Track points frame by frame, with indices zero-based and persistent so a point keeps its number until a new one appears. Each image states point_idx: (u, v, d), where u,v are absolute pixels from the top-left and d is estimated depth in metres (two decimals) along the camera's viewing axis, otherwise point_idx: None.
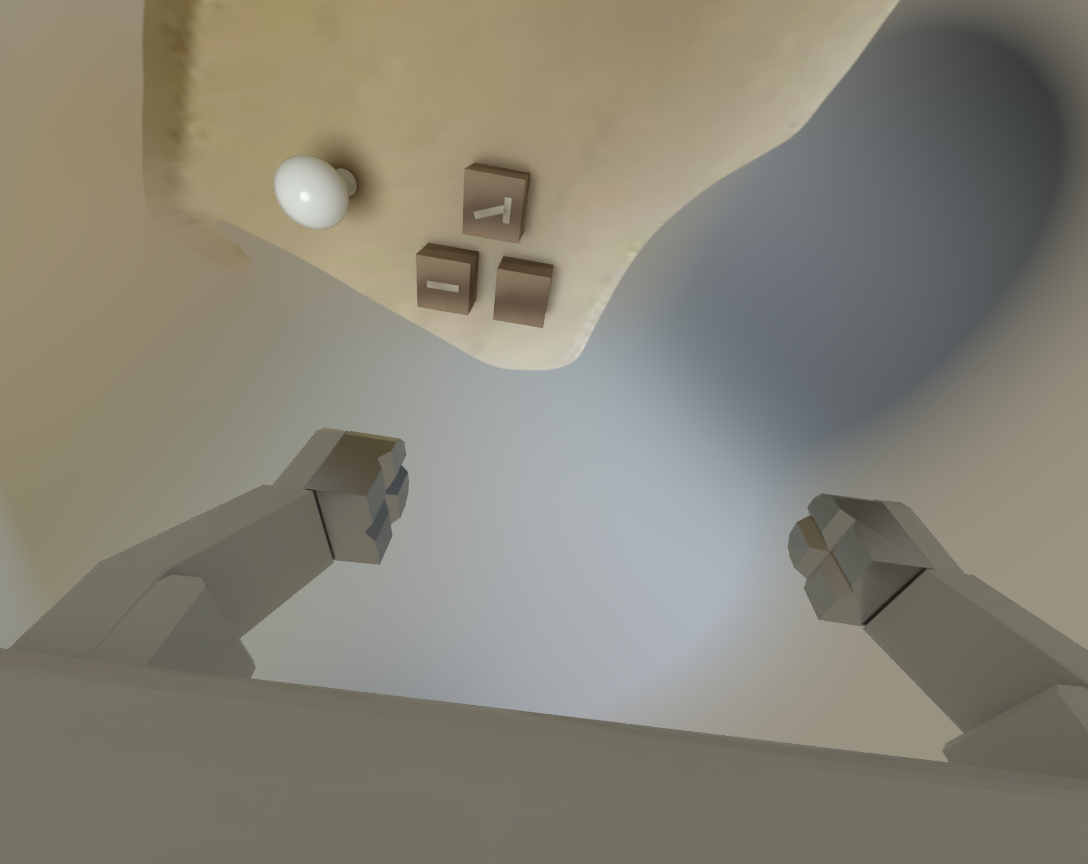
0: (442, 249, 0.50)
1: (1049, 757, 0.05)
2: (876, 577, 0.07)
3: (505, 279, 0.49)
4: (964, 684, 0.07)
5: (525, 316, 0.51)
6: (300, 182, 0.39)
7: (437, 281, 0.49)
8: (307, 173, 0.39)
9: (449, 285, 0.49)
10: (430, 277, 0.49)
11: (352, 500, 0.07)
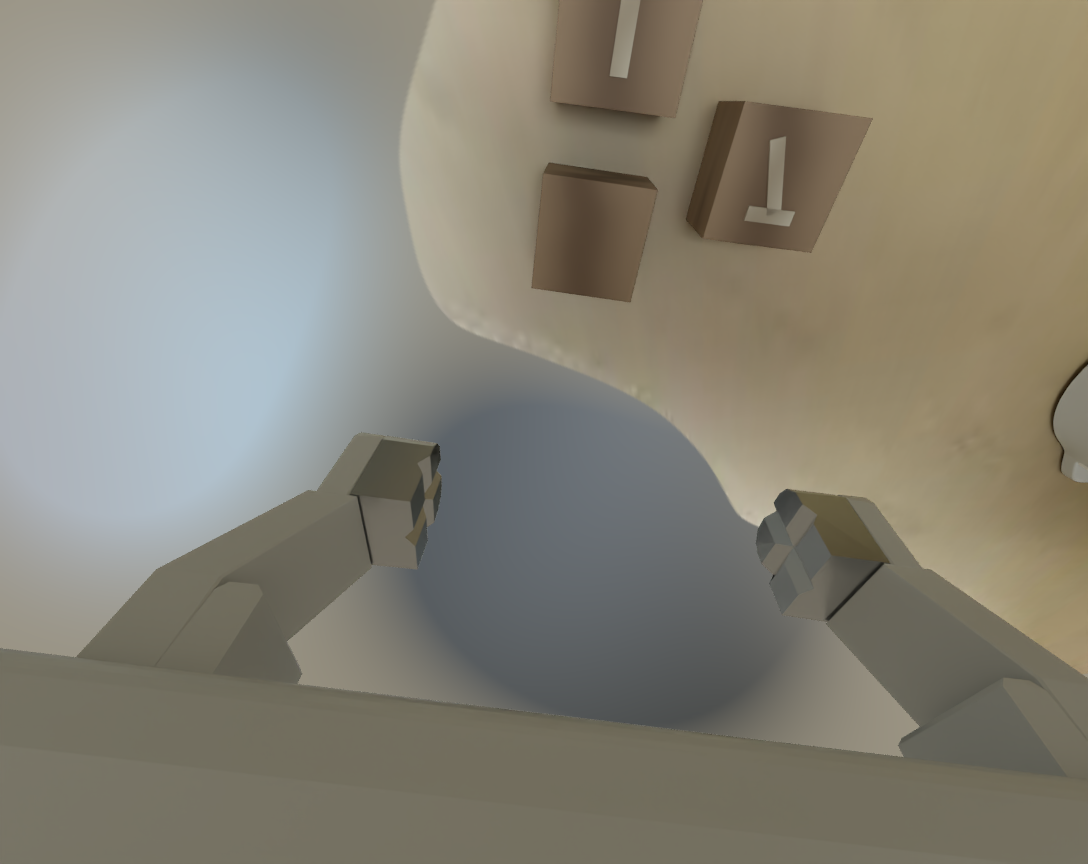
0: None
1: (994, 751, 0.05)
2: (835, 572, 0.07)
3: (633, 208, 0.23)
4: (920, 679, 0.07)
5: (554, 252, 0.25)
6: None
7: (637, 4, 0.18)
8: None
9: (628, 47, 0.19)
10: None
11: (396, 505, 0.07)
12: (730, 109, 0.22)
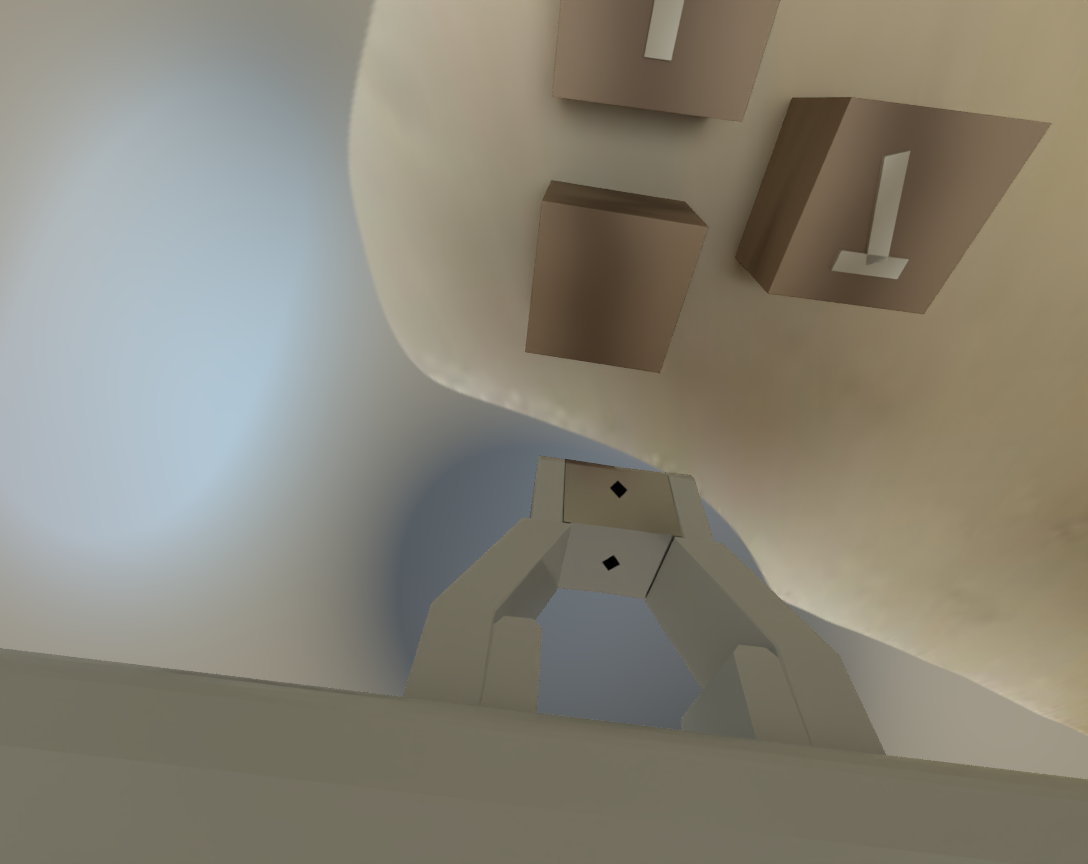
0: None
1: (725, 718, 0.05)
2: (634, 546, 0.07)
3: (671, 251, 0.16)
4: (705, 652, 0.07)
5: (556, 307, 0.18)
6: None
7: None
8: None
9: (675, 10, 0.12)
10: None
11: (606, 533, 0.07)
12: (818, 109, 0.15)
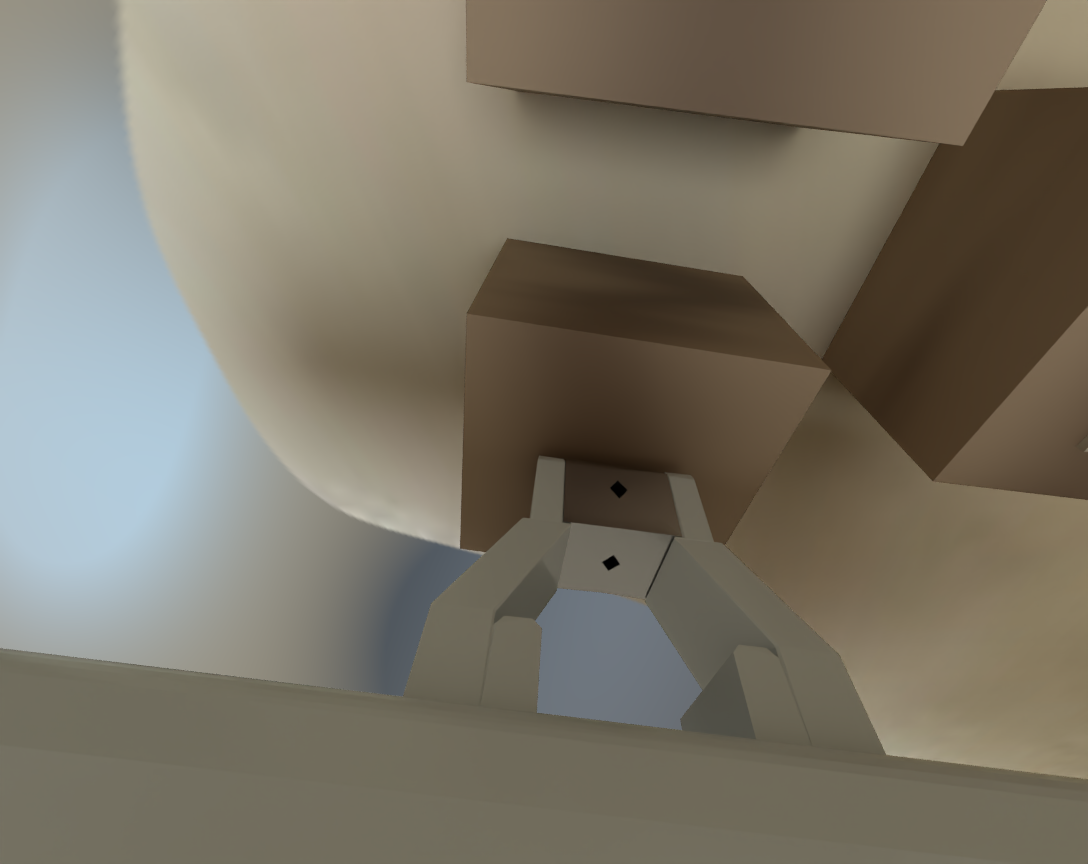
0: None
1: (724, 718, 0.05)
2: (634, 546, 0.07)
3: (744, 410, 0.08)
4: (705, 652, 0.07)
5: (511, 490, 0.09)
6: None
7: None
8: None
9: None
10: None
11: (606, 532, 0.07)
12: (1085, 114, 0.07)
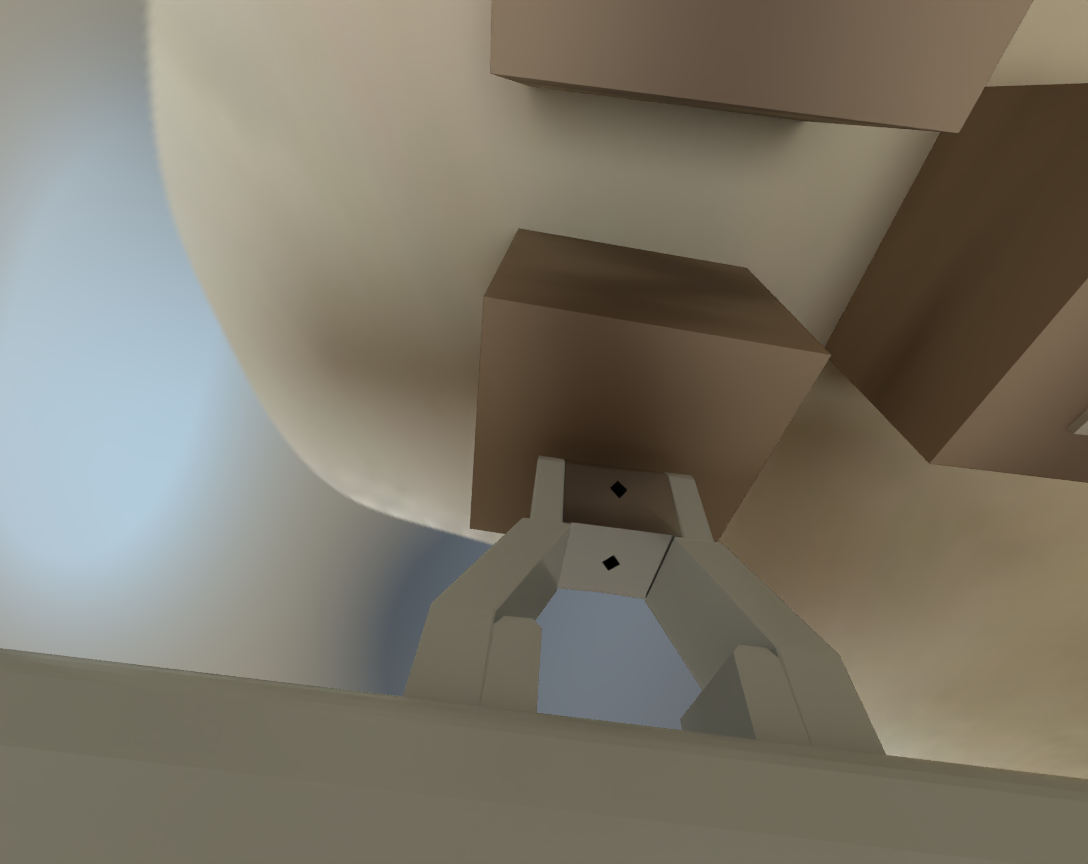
0: None
1: (724, 718, 0.05)
2: (634, 547, 0.07)
3: (747, 393, 0.08)
4: (705, 652, 0.07)
5: (521, 470, 0.10)
6: None
7: None
8: None
9: None
10: None
11: (606, 532, 0.07)
12: (1075, 109, 0.07)
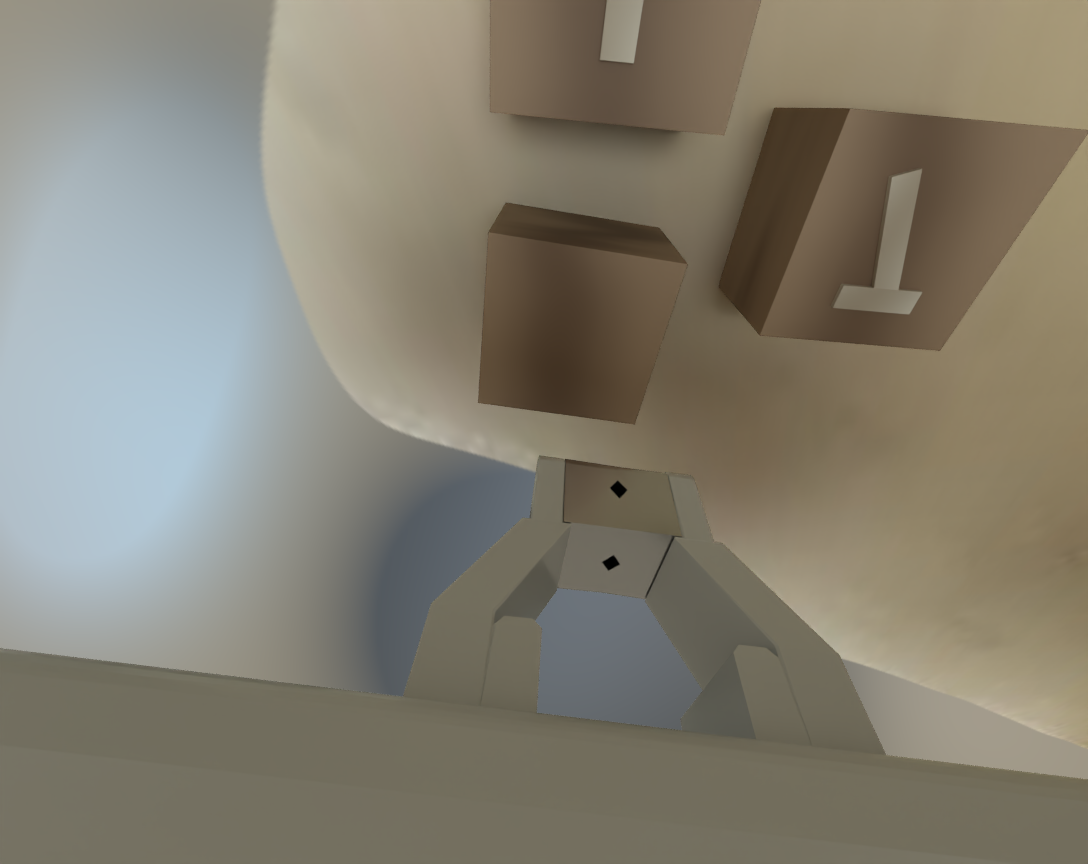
0: None
1: (724, 718, 0.05)
2: (633, 546, 0.07)
3: (644, 291, 0.14)
4: (705, 652, 0.07)
5: (511, 353, 0.15)
6: None
7: None
8: None
9: (636, 0, 0.10)
10: None
11: (606, 532, 0.07)
12: (807, 122, 0.13)
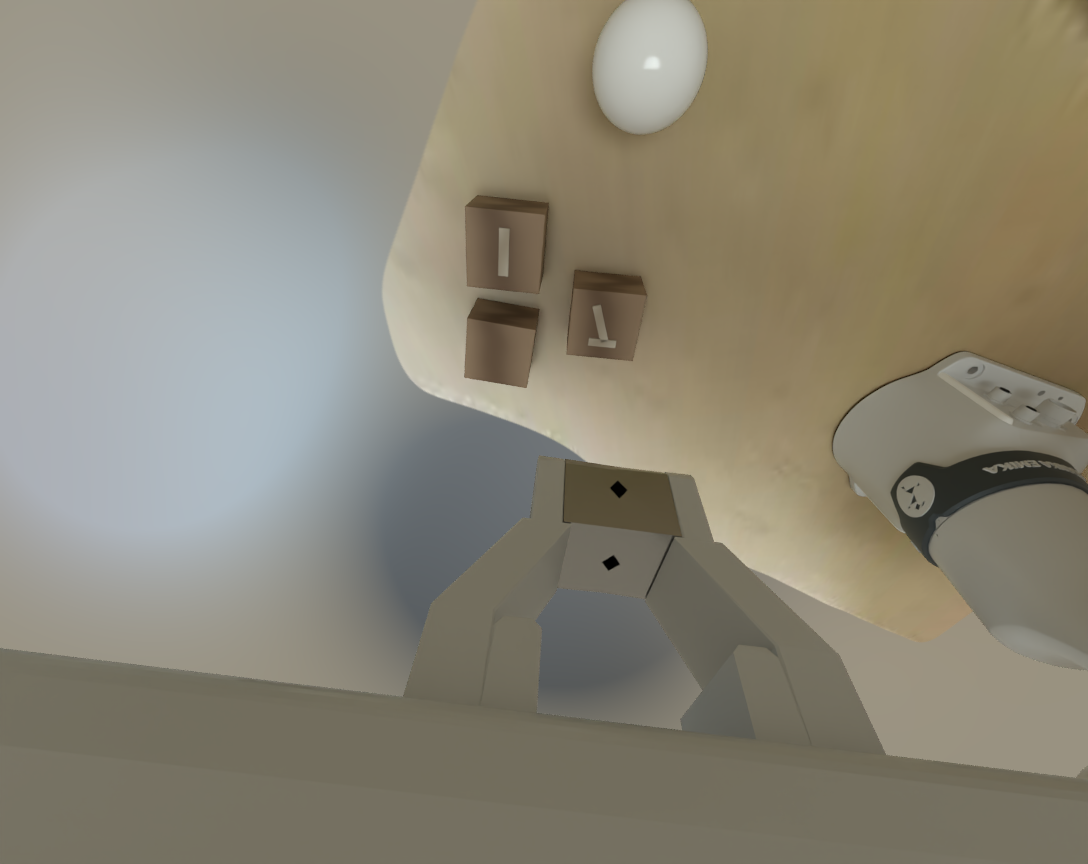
0: (545, 233, 0.36)
1: (724, 718, 0.05)
2: (633, 546, 0.07)
3: (522, 338, 0.39)
4: (705, 652, 0.07)
5: (476, 358, 0.40)
6: (678, 80, 0.23)
7: (508, 244, 0.34)
8: (686, 93, 0.24)
9: (506, 263, 0.35)
10: (513, 234, 0.33)
11: (606, 532, 0.07)
12: None
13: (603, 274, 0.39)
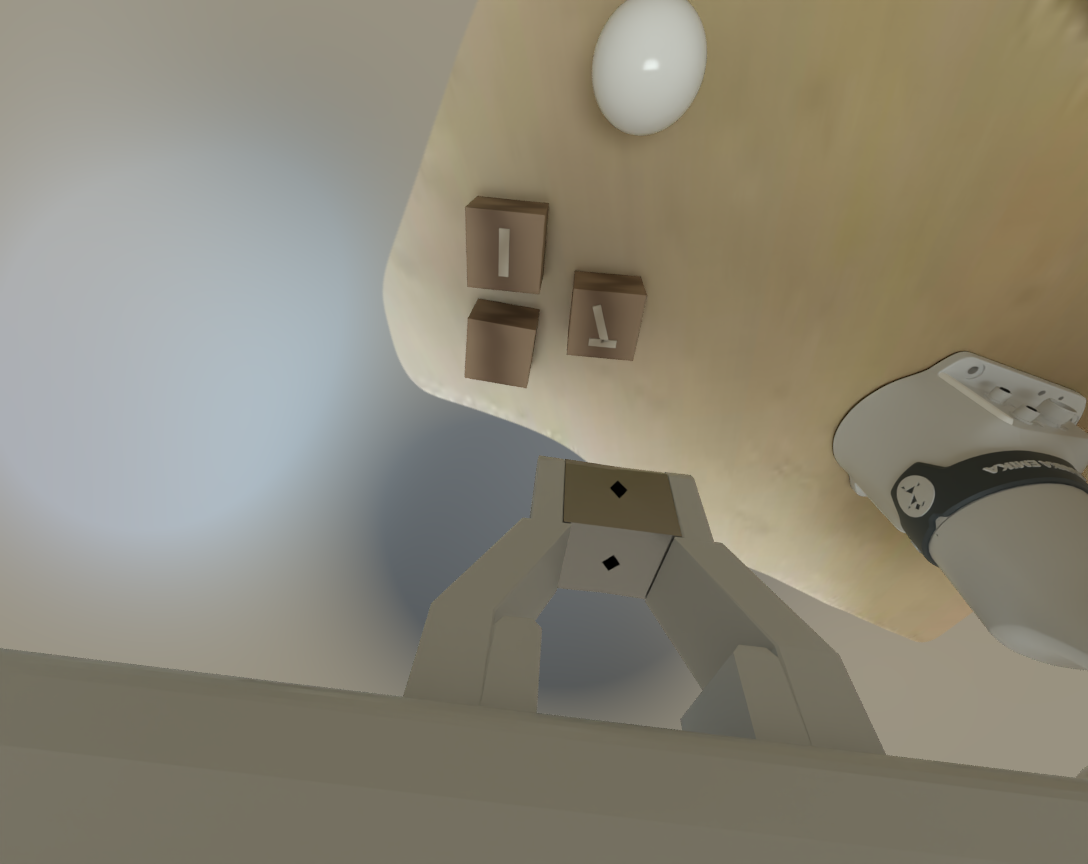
0: (545, 234, 0.36)
1: (725, 718, 0.05)
2: (634, 546, 0.07)
3: (522, 338, 0.39)
4: (705, 652, 0.07)
5: (477, 358, 0.40)
6: (677, 81, 0.23)
7: (508, 244, 0.34)
8: (686, 94, 0.24)
9: (506, 263, 0.35)
10: (513, 234, 0.33)
11: (606, 532, 0.07)
12: None
13: (603, 274, 0.39)
